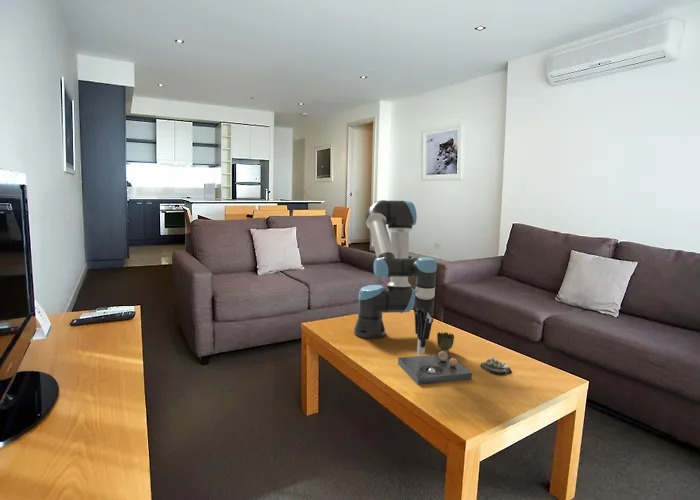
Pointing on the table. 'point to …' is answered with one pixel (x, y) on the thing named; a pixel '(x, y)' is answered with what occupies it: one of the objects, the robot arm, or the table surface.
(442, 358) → the beech ball
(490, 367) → the grey rocky sculpture
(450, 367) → the race plate
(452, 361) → the terracotta ball
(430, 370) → the steel ball
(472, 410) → the table surface
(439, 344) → the cup
